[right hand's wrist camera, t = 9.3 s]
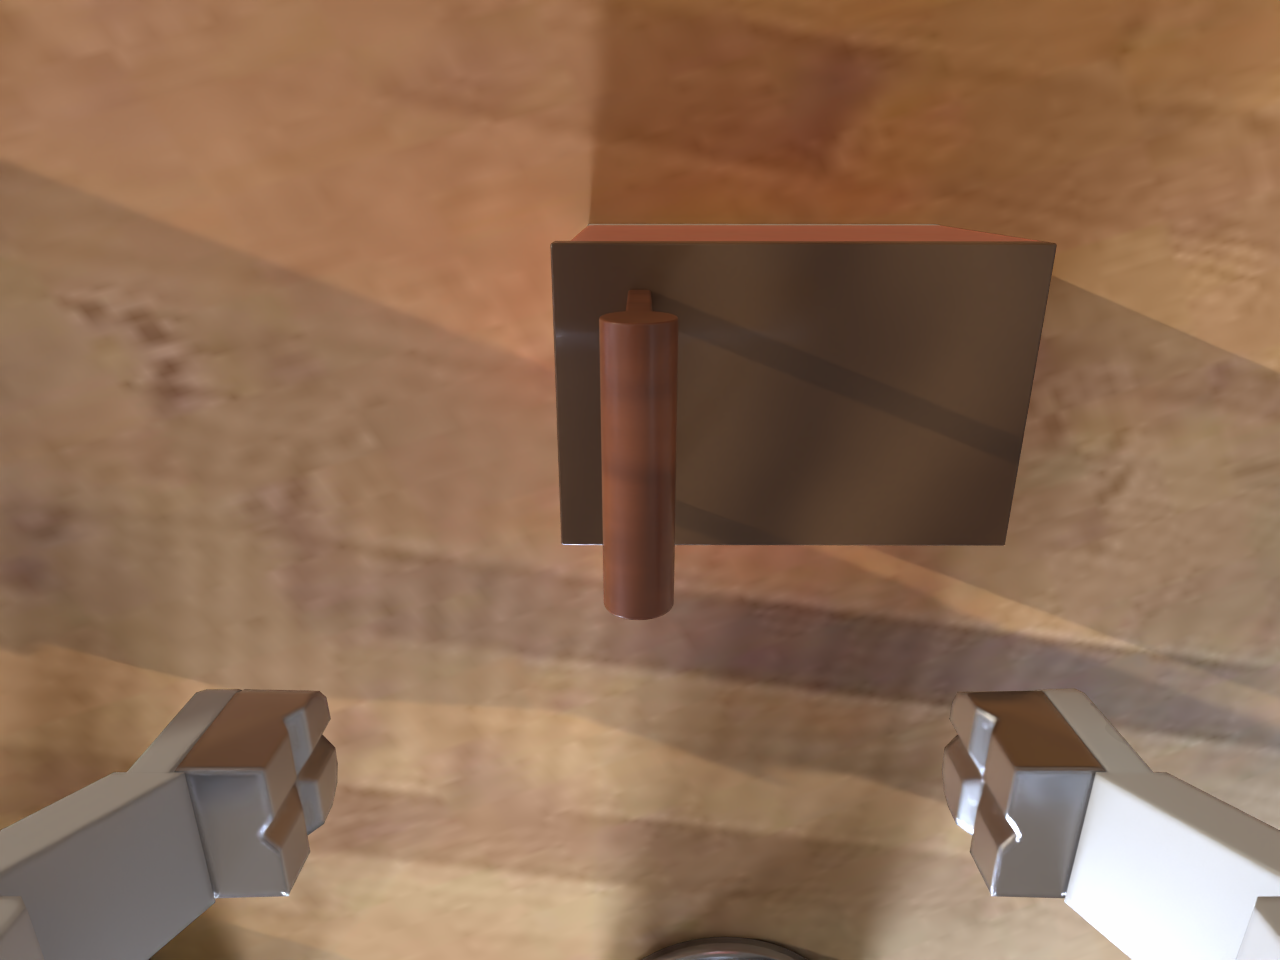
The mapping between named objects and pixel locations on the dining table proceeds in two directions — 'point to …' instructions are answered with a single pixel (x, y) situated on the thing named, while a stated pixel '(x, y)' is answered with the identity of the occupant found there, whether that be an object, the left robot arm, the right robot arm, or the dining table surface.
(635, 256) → the lid
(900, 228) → the chest
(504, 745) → the dining table surface
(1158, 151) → the dining table surface
